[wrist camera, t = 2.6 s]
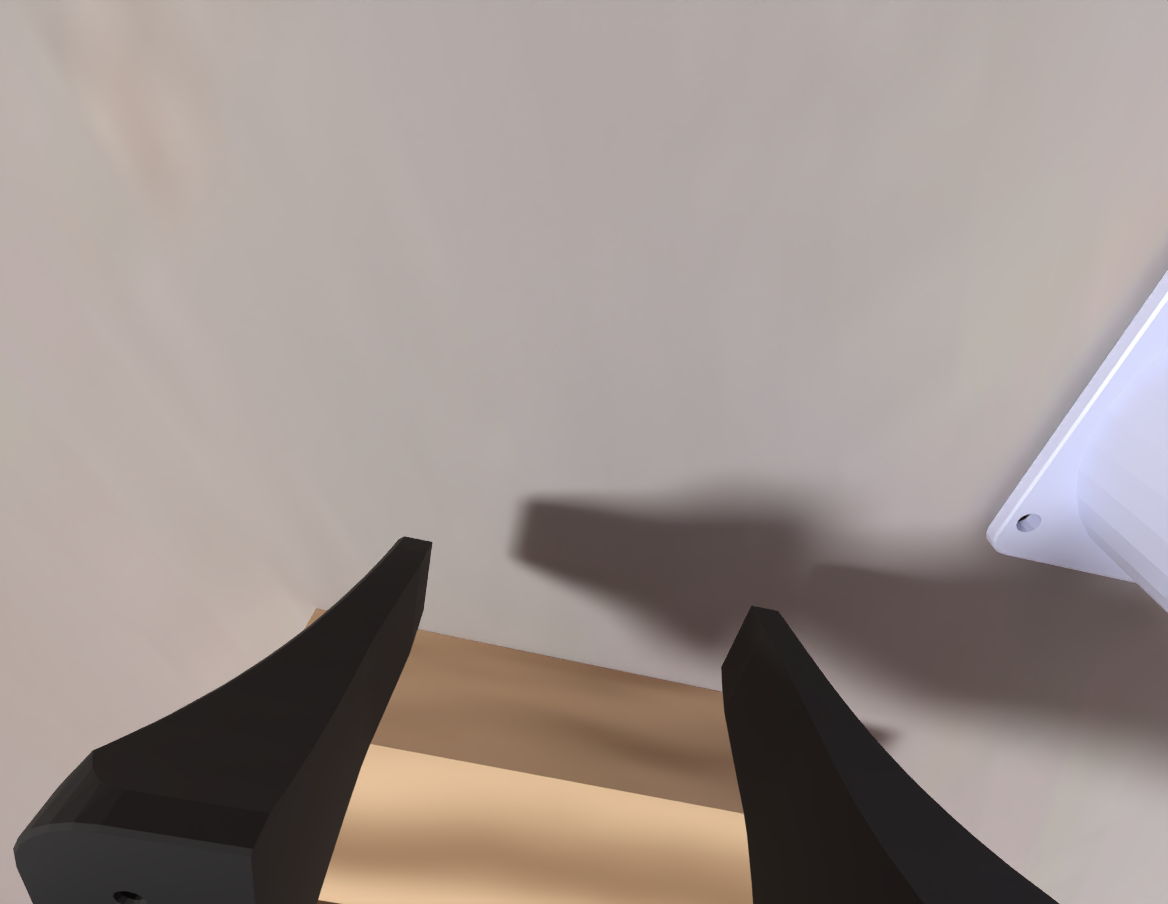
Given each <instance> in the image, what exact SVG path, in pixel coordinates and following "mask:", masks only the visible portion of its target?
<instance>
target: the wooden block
mask: <svg viewBox="0 0 1168 904" xmlns="http://www.w3.org/2000/svg"><path fill="white" fill-rule="evenodd" d="M325 612H326V610H321V609H316V610H315V612H314V613H313V615H312V617H311V619H310V620H309V622H308V624H307V626H306V627H305V629H306V628H307V627H308V626H310V625H311V624H312V623H313V622H314V621H316V620H317V619H318V618H319V617H320V616H322V615H323V614H324V613H325ZM305 629H304V630H305ZM318 900H321V901H327V902H334V903H340V904H753V896H752V883H751V872H750V862H749V851H748V841H747V832H746V825H745V819H744V812H743V807H742V802H741V797H740V792H739V787H738V782H737V777H736V772H735V766H734V761H733V756H732V751H731V746H730V741H729V735H728V730H727V725H726V719H725V714H724V704H723V692H720V691H715V690H710V689H705V688H700V687H696V686H691V685H686V684H681V683H676V682H671V681H666V680H661V679H657V678H652V677H647V676H642V675H637V674H632V673H627V672H623V671H618V670H613V669H608V668H603V667H598V666H593V665H588V664H584V663H579V662H574V661H569V660H564V659H559V658H554V657H549V656H545V655H540V654H535V653H530V652H525V651H520V650H515V649H511V648H506V647H501V646H496V645H491V644H486V643H481V642H476V641H472V640H467V639H462V638H457V637H452V636H447V635H442V634H437V633H433V632H428V631H423V630H417V633H416V636H415V639H414V642H413V645H412V649H411V652H410V654H409V657H408V659H407V661H406V664H405V666H404V668H403V671H402V673H401V675H400V678H399V680H398V682H397V685H396V687H395V689H394V691H393V694H392V696H391V698H390V701H389V703H388V705H387V707H386V710H385V712H384V714H383V717H382V719H381V721H380V723H379V726H378V728H377V730H376V733H375V735H374V737H373V739H372V742H371V744H370V746H369V749H368V751H367V754H366V756H365V759H364V761H363V764H362V767H361V769H360V772H359V775H358V778H357V781H356V784H355V787H354V790H353V793H352V796H351V799H350V802H349V805H348V808H347V811H346V814H345V817H344V820H343V824H342V827H341V830H340V833H339V836H338V839H337V842H336V845H335V848H334V851H333V854H332V858H331V861H330V864H329V867H328V870H327V873H326V876H325V880H324V883H323V886H322V889H321V892H320V896H319V899H318Z"/></svg>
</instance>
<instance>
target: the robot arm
mask: <svg viewBox="0 0 1168 904" xmlns="http://www.w3.org/2000/svg"><path fill="white" fill-rule="evenodd" d="M1027 514H1030V515H1029V516H1028V517H1027V518H1026V519H1024V520H1022V521H1019V522H1018V520H1019V519H1020V518H1021V517H1023V516H1025V515H1027ZM986 538H987V540H988V541H989V543H990V544H991V545H992V546H993V548H994V549H995V550H996V551H997V552H999V553H1001V554H1003V555H1008V556H1012V557H1017V558H1022V559H1026V560H1031V561H1036V562H1040V563H1045V564H1050V565H1054V566H1059V567H1063V568H1068V569H1073V570H1077V571H1082V572H1087V573H1091V574H1096V575H1101V576H1105V577H1110V578H1115V579H1119V580H1124V581H1128V582H1133V583H1137V584H1138V585H1139V586H1140V587H1141V588H1142V589H1143V590H1144V591H1145V592H1146V593H1147V594H1148V595H1149V596H1150V597H1151V598H1152V599H1154V600H1155V601H1156V602H1157V603H1158V604H1159V605H1160V606H1161V607H1162V608H1163V609H1164V610H1165V611H1166V612H1167V613H1168V271H1167V272H1166V273H1165V275H1164V276H1163V278H1162V279H1161V281H1160V282H1159V283H1158V285H1157V286H1156V288H1155V289H1154V291H1153V292H1152V293H1151V295H1150V296H1149V298H1148V299H1147V301H1146V302H1145V303H1144V305H1143V306H1142V308H1141V309H1140V311H1139V312H1138V314H1137V315H1136V316H1135V318H1134V319H1133V321H1132V322H1131V324H1130V325H1129V326H1128V328H1127V329H1126V331H1125V332H1124V334H1123V335H1122V336H1121V338H1120V339H1119V341H1118V342H1117V344H1116V345H1115V346H1114V348H1113V349H1112V351H1111V352H1110V354H1109V355H1108V356H1107V358H1106V359H1105V361H1104V362H1103V364H1102V365H1101V366H1100V368H1099V369H1098V371H1097V372H1096V374H1095V375H1094V377H1093V378H1092V379H1091V381H1090V382H1089V384H1088V385H1087V387H1086V388H1085V389H1084V391H1083V392H1082V394H1081V395H1080V397H1079V398H1078V399H1077V401H1076V402H1075V404H1074V405H1073V407H1072V408H1071V409H1070V411H1069V412H1068V414H1067V415H1066V417H1065V418H1064V419H1063V421H1062V422H1061V424H1060V425H1059V427H1058V428H1057V430H1056V431H1055V432H1054V434H1053V435H1052V437H1051V438H1050V440H1049V441H1048V442H1047V444H1046V445H1045V447H1044V448H1043V450H1042V451H1041V452H1040V454H1039V455H1038V457H1037V458H1036V460H1035V461H1034V462H1033V464H1032V465H1031V467H1030V468H1029V470H1028V471H1027V472H1026V474H1025V475H1024V477H1023V478H1022V480H1021V481H1020V482H1019V484H1018V485H1017V487H1016V488H1015V490H1014V491H1013V493H1012V494H1011V495H1010V497H1009V498H1008V500H1007V501H1006V503H1005V504H1004V505H1003V507H1002V508H1001V510H1000V511H999V513H998V514H997V515H996V517H995V518H994V520H993V521H992V523H991V524H990V525H989V527H988V530H987V532H986ZM431 548H432V542H429V541H424V540H419V539H414V538H409V537H402V538H400V539H399V540H398V541H397V542H396V543H395V544H394V546H393V547H392V548H391V549H390V550H389V551H388V553H387V554H386V555H385V556H384V557H383V558H382V559H381V560H380V561H379V562H378V563H377V564H376V565H375V566H374V567H373V569H372V570H371V571H370V572H369V573H368V574H367V575H366V576H365V577H364V578H363V579H362V580H360V581H359V582H358V583H357V584H356V585H355V586H354V587H353V588H352V589H351V590H350V591H349V592H348V593H347V594H346V595H345V596H344V597H342V598H341V599H340V600H339V601H338V602H337V603H336V604H335V605H333V606H332V607H331V608H330V609H329V610H327V611H326V612H325V613H324V614H323V615H322V616H320V617H319V618H318V619H317V620H316V621H314V622H313V623H312V624H311V625H310V626H308V627H307V628H306V629H305V630H303V631H302V632H301V633H299V634H298V635H297V636H296V637H294V638H293V639H292V640H290V641H289V642H288V643H286V644H285V645H283V646H282V647H281V648H279V649H278V650H276V651H275V652H274V653H272V654H271V655H269V656H268V657H266V658H265V659H263V660H262V661H260V662H259V663H257V664H256V665H254V666H253V667H251V668H250V669H248V670H246V671H245V672H243V673H242V674H240V675H239V676H237V677H236V678H234V679H232V680H231V681H229V682H227V683H226V684H224V685H222V686H221V687H219V688H217V689H216V690H214V691H212V692H210V693H208V694H206V695H205V696H203V697H201V698H199V699H197V700H196V701H194V702H192V703H190V704H188V705H186V706H185V707H183V708H181V709H179V710H177V711H176V712H174V713H172V714H170V715H168V716H166V717H164V718H162V719H160V720H158V721H156V722H154V723H152V724H150V725H148V726H145V727H143V728H141V729H139V730H137V731H135V732H133V733H130V734H128V735H126V736H124V737H122V738H120V739H118V740H116V741H113V742H111V743H109V744H107V745H105V746H102V747H100V748H97V749H95V750H93V751H92V752H91V753H90V754H89V755H88V756H87V757H86V758H85V759H84V760H83V761H82V763H81V764H80V765H79V766H78V767H77V768H76V769H75V770H74V771H73V772H72V773H71V774H70V775H69V776H68V777H67V778H66V779H65V780H64V781H63V783H62V784H61V785H60V786H59V787H58V788H57V789H56V790H55V792H54V793H53V794H52V796H51V797H50V798H49V799H48V801H47V802H46V803H45V804H44V806H43V807H42V808H41V809H40V811H39V812H38V813H37V815H36V816H35V817H34V818H33V820H32V821H31V822H30V823H29V825H28V826H27V827H26V829H25V830H24V831H23V832H22V834H21V835H20V836H19V837H18V839H17V842H16V844H15V846H14V848H13V850H14V855H15V861H16V866H17V869H18V871H19V873H20V876H21V878H22V880H23V882H24V885H25V887H26V889H27V891H28V893H29V896H30V898H31V900H32V902H33V904H317V902H318V899H319V896H320V892H321V889H322V886H323V883H324V880H325V876H326V873H327V870H328V867H329V864H330V861H331V858H332V854H333V851H334V848H335V845H336V842H337V839H338V836H339V833H340V830H341V827H342V824H343V820H344V817H345V814H346V811H347V808H348V805H349V802H350V799H351V796H352V793H353V790H354V787H355V784H356V781H357V778H358V775H359V772H360V769H361V767H362V764H363V761H364V759H365V756H366V754H367V751H368V749H369V746H370V744H371V742H372V739H373V737H374V735H375V733H376V730H377V728H378V726H379V723H380V721H381V719H382V717H383V714H384V712H385V710H386V707H387V705H388V703H389V701H390V698H391V696H392V694H393V691H394V689H395V687H396V685H397V682H398V680H399V678H400V675H401V673H402V671H403V668H404V666H405V664H406V661H407V659H408V657H409V654H410V652H411V649H412V645H413V642H414V639H415V636H416V633H417V630H418V626H419V623H420V620H421V616H422V613H423V610H424V602H425V594H426V587H427V579H428V571H429V564H430V556H431ZM721 669H722V690H723V704H724V714H725V719H726V725H727V730H728V735H729V741H730V746H731V751H732V756H733V761H734V766H735V772H736V777H737V782H738V787H739V792H740V797H741V802H742V807H743V812H744V819H745V825H746V832H747V841H748V851H749V862H750V872H751V883H752V896H753V904H1059V903H1058V902H1056V901H1055V900H1054V899H1052V898H1051V897H1050V896H1049V895H1047V894H1046V893H1045V892H1043V891H1042V890H1041V889H1039V888H1038V887H1037V886H1035V885H1034V884H1033V883H1031V882H1030V881H1029V880H1027V879H1026V878H1025V877H1023V876H1022V875H1021V874H1019V873H1018V872H1017V871H1015V870H1014V869H1013V868H1012V867H1010V866H1009V865H1008V864H1007V863H1005V862H1004V861H1003V860H1002V859H1001V858H999V857H998V856H997V855H996V854H995V853H993V852H992V851H991V850H990V849H989V848H987V847H986V846H985V845H984V844H983V843H981V842H980V841H979V840H978V839H977V838H975V837H974V836H973V835H972V834H971V833H970V832H968V831H967V830H966V829H965V828H964V827H963V826H962V825H961V824H959V823H958V822H957V821H956V820H955V819H954V818H953V817H952V816H951V815H949V814H948V813H947V812H946V811H945V810H944V809H943V808H942V807H941V806H940V805H939V804H938V803H937V802H936V801H935V800H934V799H932V798H931V797H930V796H929V795H928V794H927V793H926V792H925V791H924V790H923V789H922V788H921V787H920V786H919V785H918V784H917V783H916V782H915V781H914V780H913V779H912V778H911V777H910V776H909V775H908V774H907V773H906V772H905V771H904V770H903V769H902V768H901V767H900V765H899V764H898V763H897V762H896V761H895V760H894V759H893V758H892V757H891V756H890V755H889V754H888V753H887V752H886V751H885V749H884V748H883V747H882V746H881V745H880V744H879V743H878V742H877V740H876V739H875V738H874V737H873V736H872V735H871V734H870V732H869V731H868V730H867V729H866V728H865V726H864V725H863V724H862V723H861V722H860V720H859V719H858V718H857V717H856V716H855V714H854V713H853V712H852V711H851V709H850V708H849V707H848V706H847V704H846V703H845V702H844V701H843V699H842V698H841V697H840V695H839V694H838V693H837V692H836V690H835V689H834V688H833V686H832V685H831V684H830V682H829V681H828V680H827V678H826V677H825V676H824V674H823V673H822V672H821V670H820V669H819V667H818V666H817V665H816V663H815V662H814V661H813V659H812V658H811V656H810V655H809V654H808V652H807V651H806V649H805V648H804V647H803V645H802V644H801V642H800V641H799V640H798V638H797V637H796V635H795V634H794V633H793V631H792V630H791V628H790V627H789V626H788V624H787V623H786V621H785V620H784V619H783V617H782V616H781V615H780V613H779V612H778V611H775V610H770V609H765V608H760V607H755V606H751V608H750V610H749V612H748V614H747V616H746V618H745V620H744V622H743V624H742V626H741V628H740V630H739V632H738V634H737V637H736V639H735V641H734V643H733V645H732V647H731V649H730V651H729V653H728V655H727V657H726V659H725V661H724V663H723V665H722V667H721Z"/></svg>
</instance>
